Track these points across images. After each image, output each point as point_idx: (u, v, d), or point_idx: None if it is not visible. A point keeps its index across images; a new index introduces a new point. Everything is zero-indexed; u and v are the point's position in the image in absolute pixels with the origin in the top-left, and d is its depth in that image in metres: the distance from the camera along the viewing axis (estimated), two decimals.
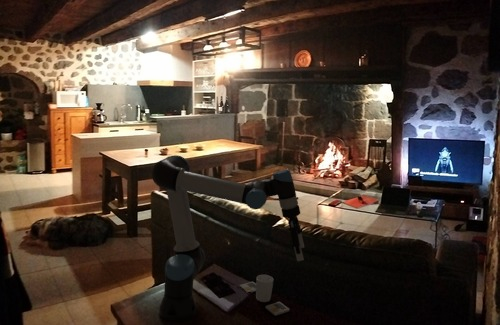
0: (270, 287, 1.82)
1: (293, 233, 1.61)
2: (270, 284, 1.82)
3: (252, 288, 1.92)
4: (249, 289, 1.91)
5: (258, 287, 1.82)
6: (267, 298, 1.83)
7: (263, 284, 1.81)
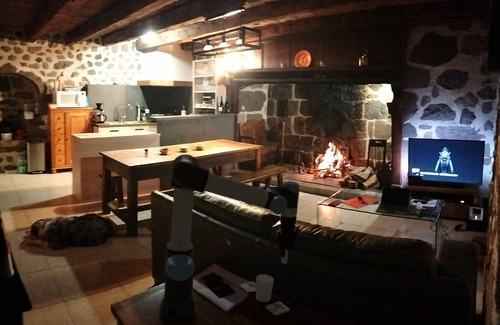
0: (270, 287, 1.82)
1: (278, 240, 1.84)
2: (270, 284, 1.82)
3: (252, 288, 1.92)
4: (249, 289, 1.91)
5: (258, 287, 1.82)
6: (267, 298, 1.83)
7: (263, 284, 1.81)
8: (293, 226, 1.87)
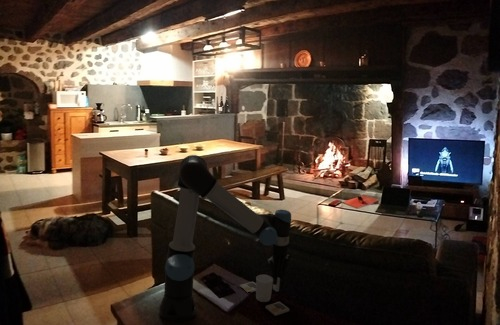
0: (270, 287, 1.82)
1: (270, 268, 1.85)
2: (270, 284, 1.81)
3: (252, 288, 1.92)
4: (249, 289, 1.91)
5: (258, 287, 1.82)
6: (267, 298, 1.83)
7: (262, 284, 1.81)
8: (285, 254, 1.87)
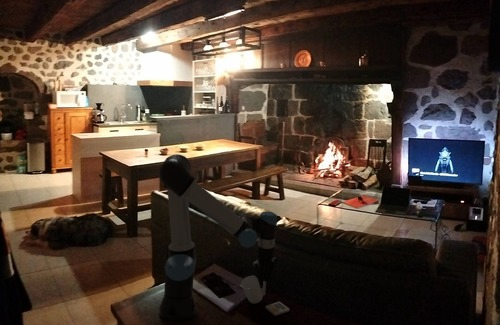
0: (257, 289, 1.77)
1: (255, 271, 1.80)
2: (255, 287, 1.76)
3: None
4: None
5: (245, 292, 1.78)
6: (258, 299, 1.80)
7: (248, 290, 1.76)
8: (271, 257, 1.82)
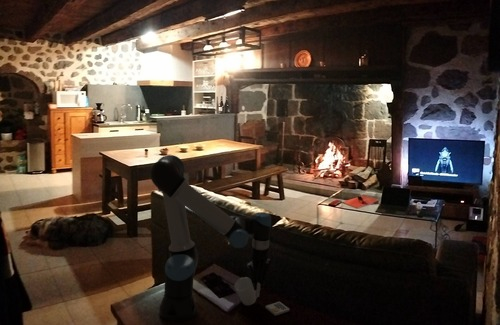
0: (250, 291, 1.75)
1: (249, 273, 1.78)
2: (249, 289, 1.74)
3: None
4: None
5: (239, 294, 1.76)
6: (252, 301, 1.78)
7: (241, 292, 1.74)
8: (265, 258, 1.80)
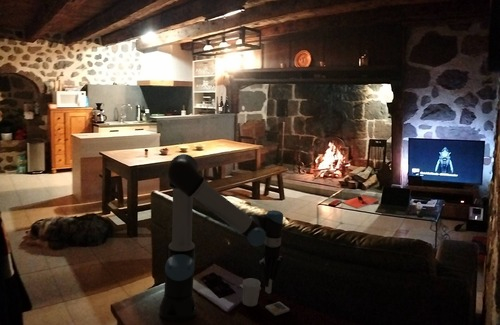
0: (256, 291, 1.78)
1: (261, 269, 1.82)
2: (256, 288, 1.77)
3: None
4: None
5: (244, 291, 1.78)
6: (253, 302, 1.78)
7: (249, 288, 1.76)
8: (277, 255, 1.84)
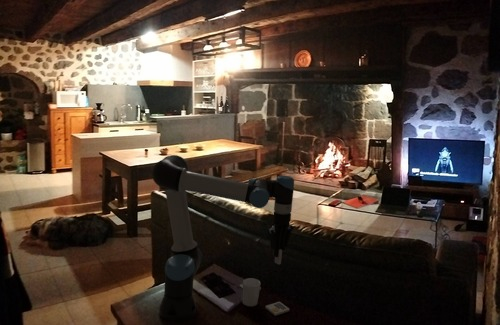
0: (256, 291, 1.78)
1: (271, 238, 1.72)
2: (256, 288, 1.77)
3: None
4: None
5: (244, 291, 1.78)
6: (253, 302, 1.78)
7: (249, 288, 1.76)
8: (287, 224, 1.74)
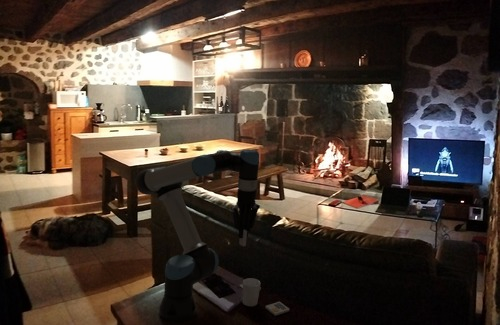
0: (256, 291, 1.78)
1: (234, 218, 1.58)
2: (256, 288, 1.77)
3: None
4: None
5: (244, 291, 1.78)
6: (253, 302, 1.78)
7: (249, 288, 1.76)
8: (253, 202, 1.61)
